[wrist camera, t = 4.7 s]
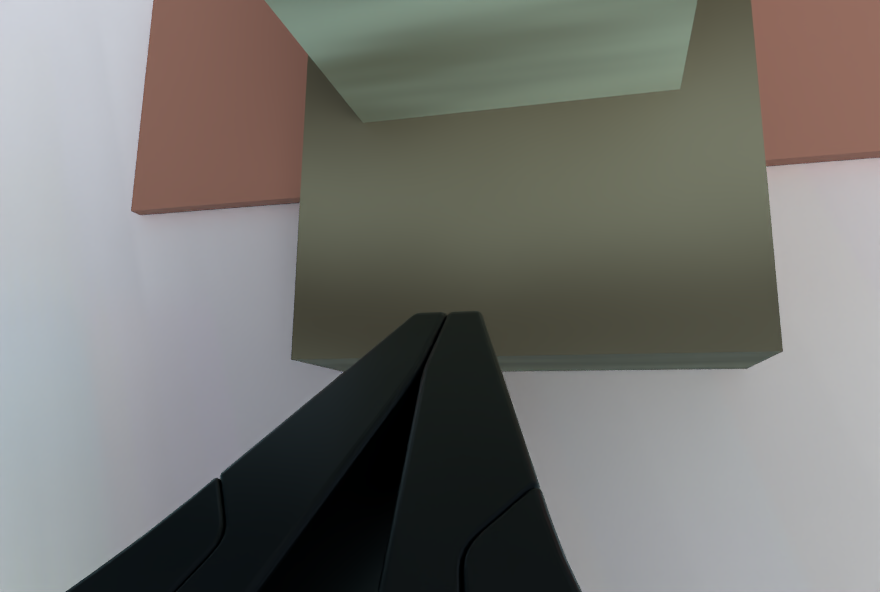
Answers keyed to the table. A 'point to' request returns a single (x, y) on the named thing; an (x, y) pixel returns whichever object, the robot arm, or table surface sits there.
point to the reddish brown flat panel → (284, 91)
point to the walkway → (550, 222)
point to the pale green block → (489, 51)
